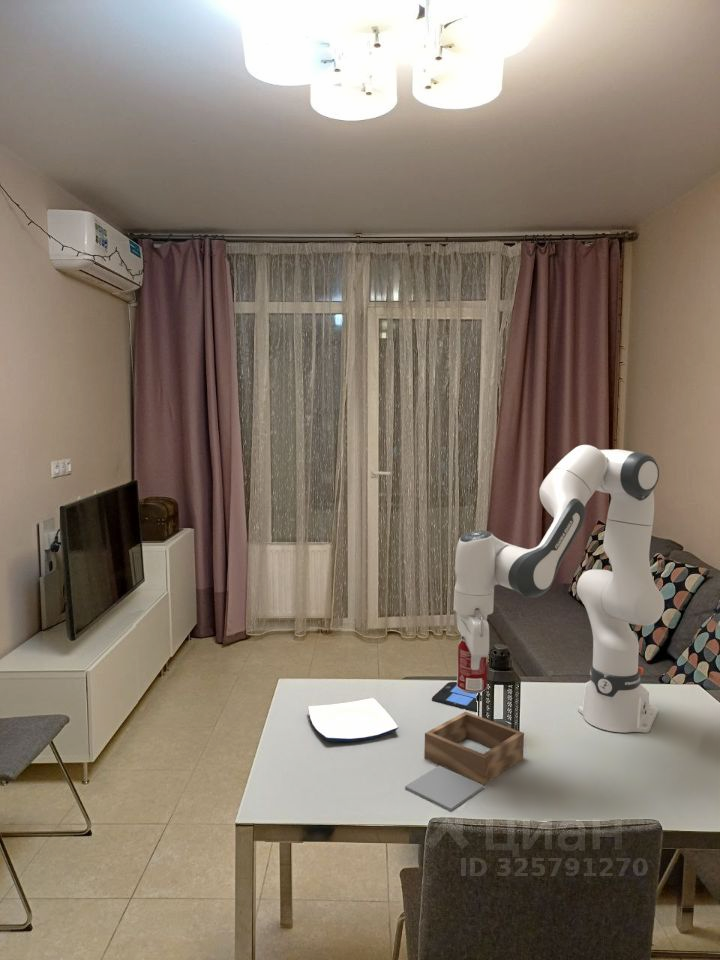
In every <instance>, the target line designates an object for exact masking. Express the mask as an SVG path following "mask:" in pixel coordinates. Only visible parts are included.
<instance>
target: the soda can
mask: <svg viewBox="0 0 720 960" xmlns="http://www.w3.org/2000/svg"><path fill="white" fill-rule="evenodd" d="M470 660H471V653H470V651H469V649H468V647H467V645H466V642H465V640H464V639H463V636H461V637H460V641H459V643H458V645H457V667H456V669H457V670H456V675H457V676H456V682H457V687H458V688H459V689H460V690H462V691H463V692H466V693H470V694H477V693H481V692H483V691H485V690H488V689H487V687H488V666H489V664H488V663H489V662H488V661H489V656H488V657H481V659H480V662H479V669H478V670H472V669H471V667H470Z"/></svg>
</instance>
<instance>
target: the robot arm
mask: <svg viewBox="0 0 720 960" xmlns="http://www.w3.org/2000/svg"><path fill="white" fill-rule="evenodd" d="M659 470H660V469H659V465H658V464H657V461H656V459H655V458H654V457H653V456H652V455H649V454H647V453H644V452H641V451H631V450H625V449H617V448H616V449H598V448H597V447H596V446H593V445H591V444H582V445H581V444H580V445H578V446H576V447H574V448H573V449H572V450H571V451H570V452H568V453H567V454H566V455H564V457H563V458H561V460H560V461H558V463H556V465H555V466H554V467H553V468H552V469H551V471H549V473H548V474H547V476H545V478H544V479H543V481H542V482H541V484H540V487H539V494H538V495H539V501H540V503H541V504H542V506H543V508H544V509H545V510H546V512H547V513H549V515H551V517H552V518H553V521H552V523H551V524H550V526H549V528H548V529H547V531H546V533H545V535H544V536H543V538H542V540H541V541H540V542H539V544H538V545H537V546H535V547H533V548H529V549H528V548H525V547H520V546H518V545H514V544H511V543H509V542H505V541H503V540H501V539H499V538H498V537H496V536H495V535H494V533H492V532H491V531H488V530H472V531H467V532H465V533H463V534H462V535H461V536H460V538H459V539H458V542H457V545H456V552H455V560H454V561H455V563H454V573H455V577H456V579H455V580H456V581H455V585H454V590H453V591H454V593H453V610H454V611H455V612H456V625H457V629H458V632H459V634H460V636H461V637H462V636H463V639H464V640H465V642H466V645H467V647H468V649H469V651H470V653H471V660H470V667H471V669H472V670H478V669H479V662H480V659H481V657H488V658H489V653H490V624H489V622H488V616H489V615H492V614H493V613H494V606H495V605H494V601H495V600H494V599H495V598H494V597H495V586H496V585H500V586H502V587H504V588H507V589H511V590H513V591H515V592H517V593H518V594H521V596H522V595H523V597H527V598H533V599H534V598H537V597H540V596H542V595H543V594H545V593H546V592H547V591H549V590H550V588H551V587H552V585H553V584H554V582H555V579H556V575H557V573H558V571H559V568H560V566H561V563H562V561H563V560H564V558H565V557H566V555H567V553H568V551H569V549H570V548H571V547H572V544H573V542H574V541H575V539H576V537H577V536H578V533H579V532H580V530H581V528H582V526H583V524H584V523H585V519H586V515H587V514H586V511H587V510H586V505H587V503H588V501H590V498H591V497H593V494H594V493H595V492H596V491H598V492H601V493H605V494H610V503H609V507H608V511H607V517H606V523H605V530H604V536H603V544H602V546H603V547H602V548H603V551H604V554H606V556H607V557H608V559H609V562H610V565H611V570H612V571H611V570H607V569H595V568H594V569H589V570H586V571H584V572H583V573H582V574H581V575H580V577H579V578H578V580H577V584H576V592H577V596H578V598H579V599H580V601H581V602H582V603H583V605H584V607H585V610H586V612H587V615H588V619H589V623H590V628H591V632H592V642H593V643H592V644H593V645H592V646H593V647H592V664H591V665H590V671H589V676H590V677H589V678H590V680H588V681H587V682H585V686H584V693H583V701H582V704H580V705H579V706H578V707H577V711H578V712H579V713H580V714H581V715H582V716H583V718H584V720H585V721H586V722H587V723H588V724H590V725H591V726H594V727H596V728H597V729H600V730H604V731H608V732H613V733H614V732H615V733H650V732H651V731H650V730H651V729H652V726H653V724H654V722H655V720H656V718H657V716H658V713H659V712H658V708H656V706H653V705H652V704H650V692H649V691H648V690H647V689H646V688H645V687H644V686H643V685H642V684H641V676H642V675H643V674H644V668H643V667H641V666H639V655H640V654H639V650H640V644H639V640H638V638H637V636H636V635H635V633H634V632H633V630H632V628H631V626H630V625H635V626H636V625H637V626H645V627H646V626H652V625H654V624H656V623H657V622H658V621H659V620H660V619H661V617H662V615H663V613H664V610H665V599H664V596H663V594H662V593H661V591H660V590H659V588H658V587H657V585H656V583H655V580H654V577H653V573H652V569H651V563H650V550H651V548H650V547H651V541H652V540H651V539H652V533H653V525H654V518H655V517H654V516H655V515H654V514H655V494H654V493H655V492H654V490H655V488H656V486H657V484H658V481H659V477H660V471H659Z"/></svg>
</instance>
